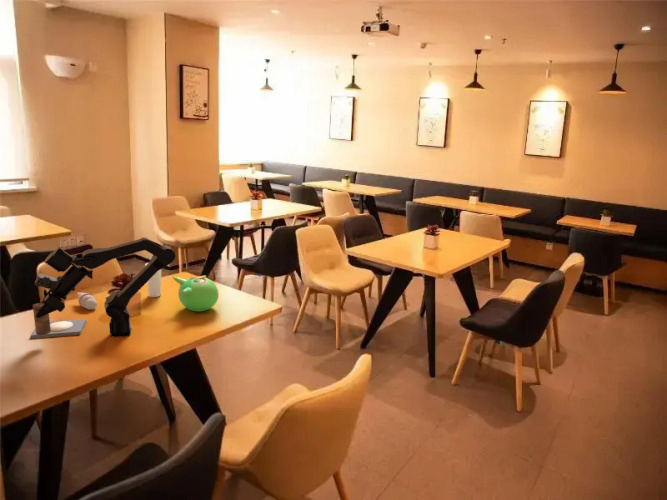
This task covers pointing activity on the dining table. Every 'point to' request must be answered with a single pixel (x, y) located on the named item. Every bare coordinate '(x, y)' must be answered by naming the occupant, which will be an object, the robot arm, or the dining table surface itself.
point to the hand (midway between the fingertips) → (36, 314)
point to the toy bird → (197, 293)
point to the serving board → (63, 328)
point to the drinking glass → (154, 284)
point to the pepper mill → (41, 321)
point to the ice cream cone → (87, 300)
